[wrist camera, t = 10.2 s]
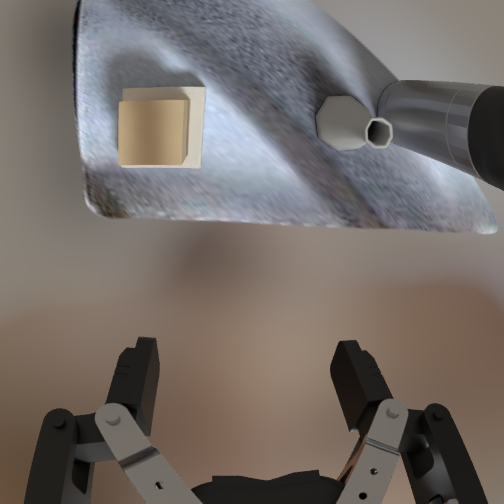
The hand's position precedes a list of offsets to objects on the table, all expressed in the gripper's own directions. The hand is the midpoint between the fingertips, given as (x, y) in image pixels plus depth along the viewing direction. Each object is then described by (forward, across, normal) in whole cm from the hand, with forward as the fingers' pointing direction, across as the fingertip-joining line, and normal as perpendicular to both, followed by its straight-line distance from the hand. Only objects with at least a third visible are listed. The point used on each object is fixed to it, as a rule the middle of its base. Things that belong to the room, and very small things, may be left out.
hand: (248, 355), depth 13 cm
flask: (+28, -13, -9) cm, 32 cm away
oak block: (+25, +8, -7) cm, 27 cm away
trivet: (+28, +8, -7) cm, 30 cm away
